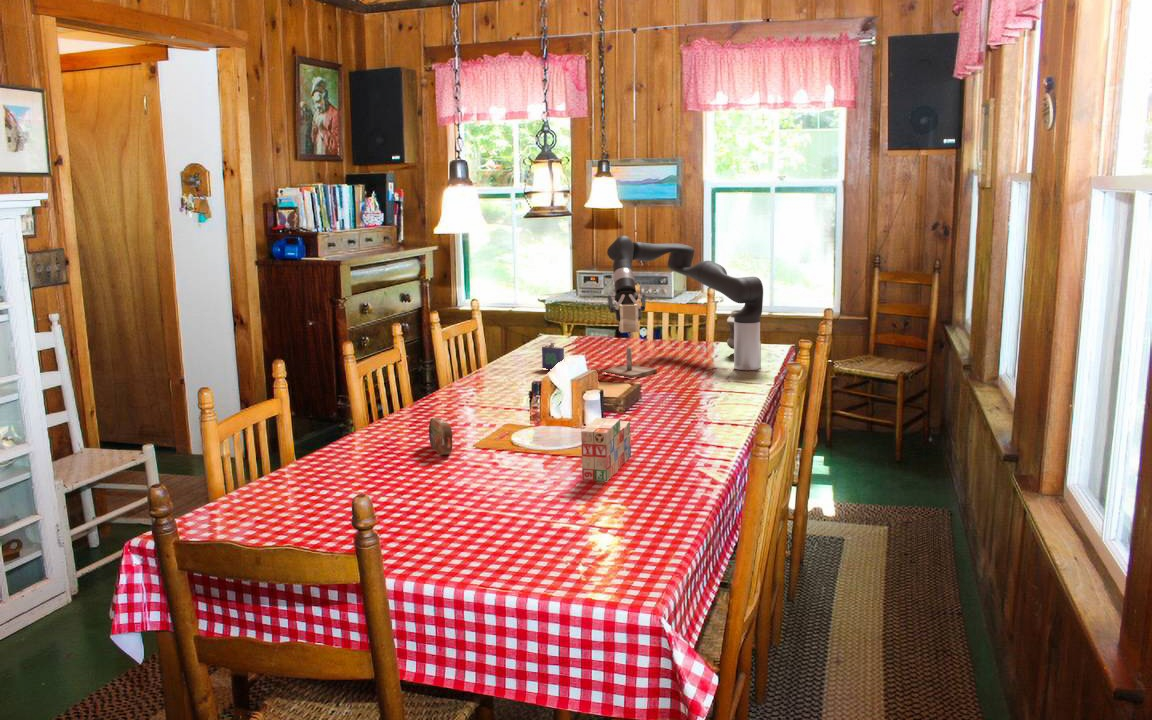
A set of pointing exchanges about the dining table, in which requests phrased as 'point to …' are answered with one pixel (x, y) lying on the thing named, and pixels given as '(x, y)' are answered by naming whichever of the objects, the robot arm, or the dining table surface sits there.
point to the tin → (440, 436)
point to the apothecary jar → (731, 330)
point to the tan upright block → (628, 318)
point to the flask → (551, 355)
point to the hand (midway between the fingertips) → (629, 319)
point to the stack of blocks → (604, 448)
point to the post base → (632, 372)
